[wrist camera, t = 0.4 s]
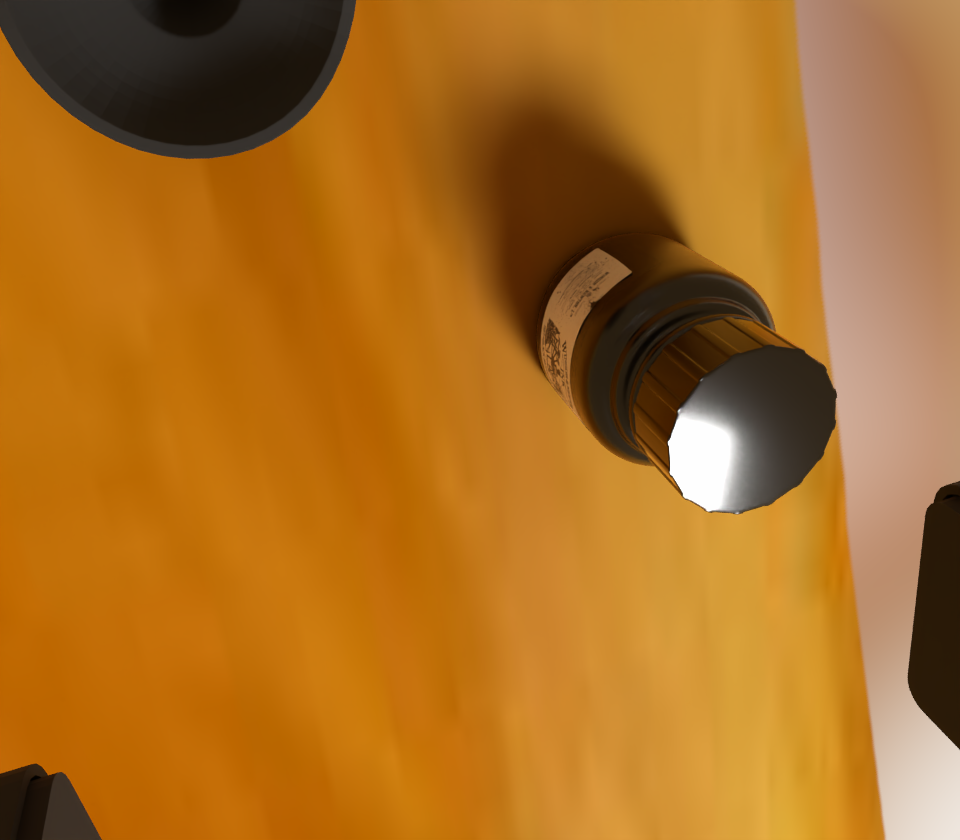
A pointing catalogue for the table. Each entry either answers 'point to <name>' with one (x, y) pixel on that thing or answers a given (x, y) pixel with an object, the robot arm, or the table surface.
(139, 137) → the pen holder
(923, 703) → the robot arm
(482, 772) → the table surface
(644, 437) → the ink bottle
